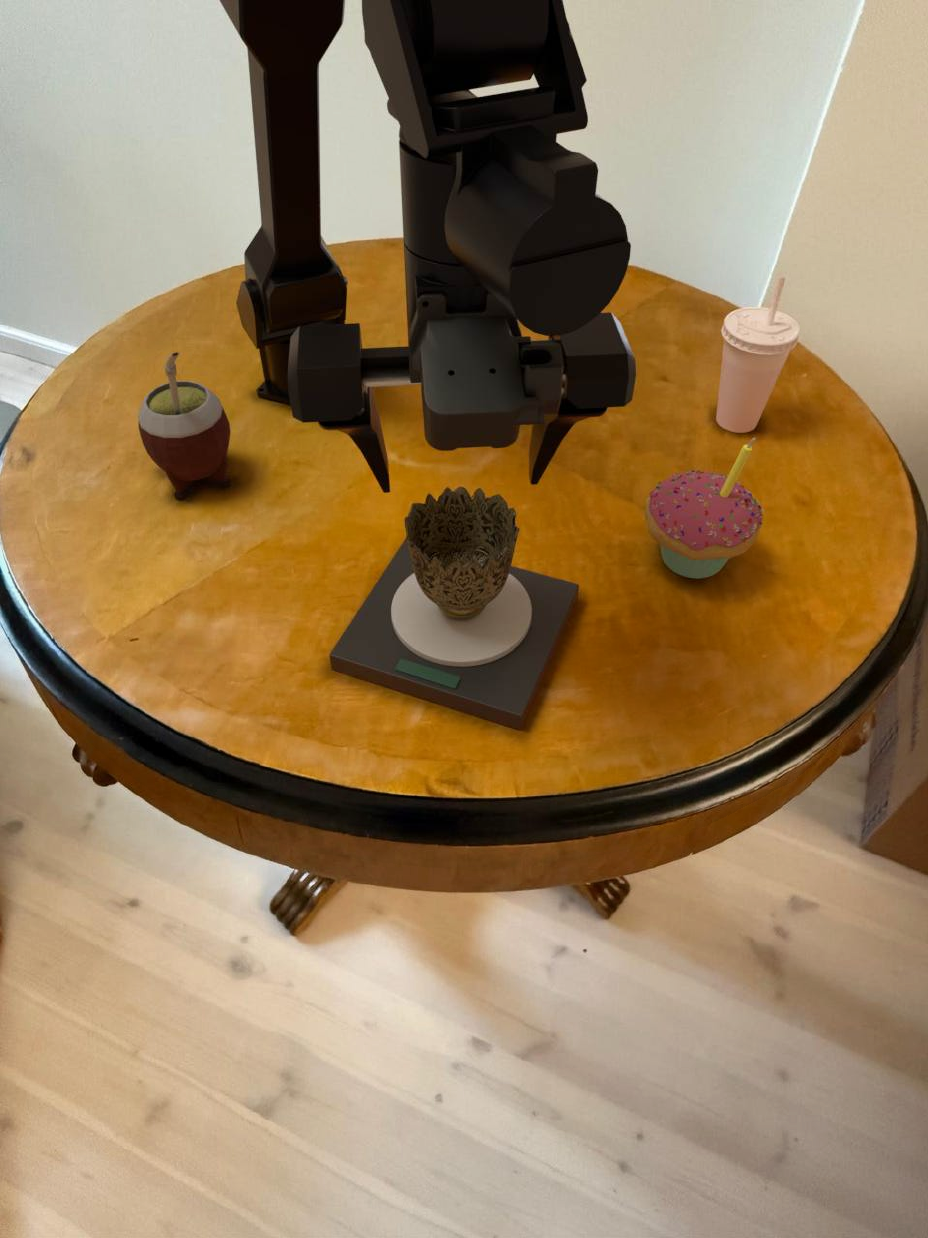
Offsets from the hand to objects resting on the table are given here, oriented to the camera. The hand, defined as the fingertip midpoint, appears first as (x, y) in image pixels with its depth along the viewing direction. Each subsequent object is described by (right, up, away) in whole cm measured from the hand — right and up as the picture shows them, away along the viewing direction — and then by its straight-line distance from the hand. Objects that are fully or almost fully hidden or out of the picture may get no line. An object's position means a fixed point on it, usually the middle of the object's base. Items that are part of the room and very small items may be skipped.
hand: (460, 484), depth 56 cm
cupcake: (+18, -4, +14) cm, 23 cm away
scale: (0, -9, +9) cm, 13 cm away
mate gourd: (-22, +3, +21) cm, 31 cm away
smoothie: (+25, +10, +27) cm, 38 cm away
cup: (0, -8, +8) cm, 11 cm away
